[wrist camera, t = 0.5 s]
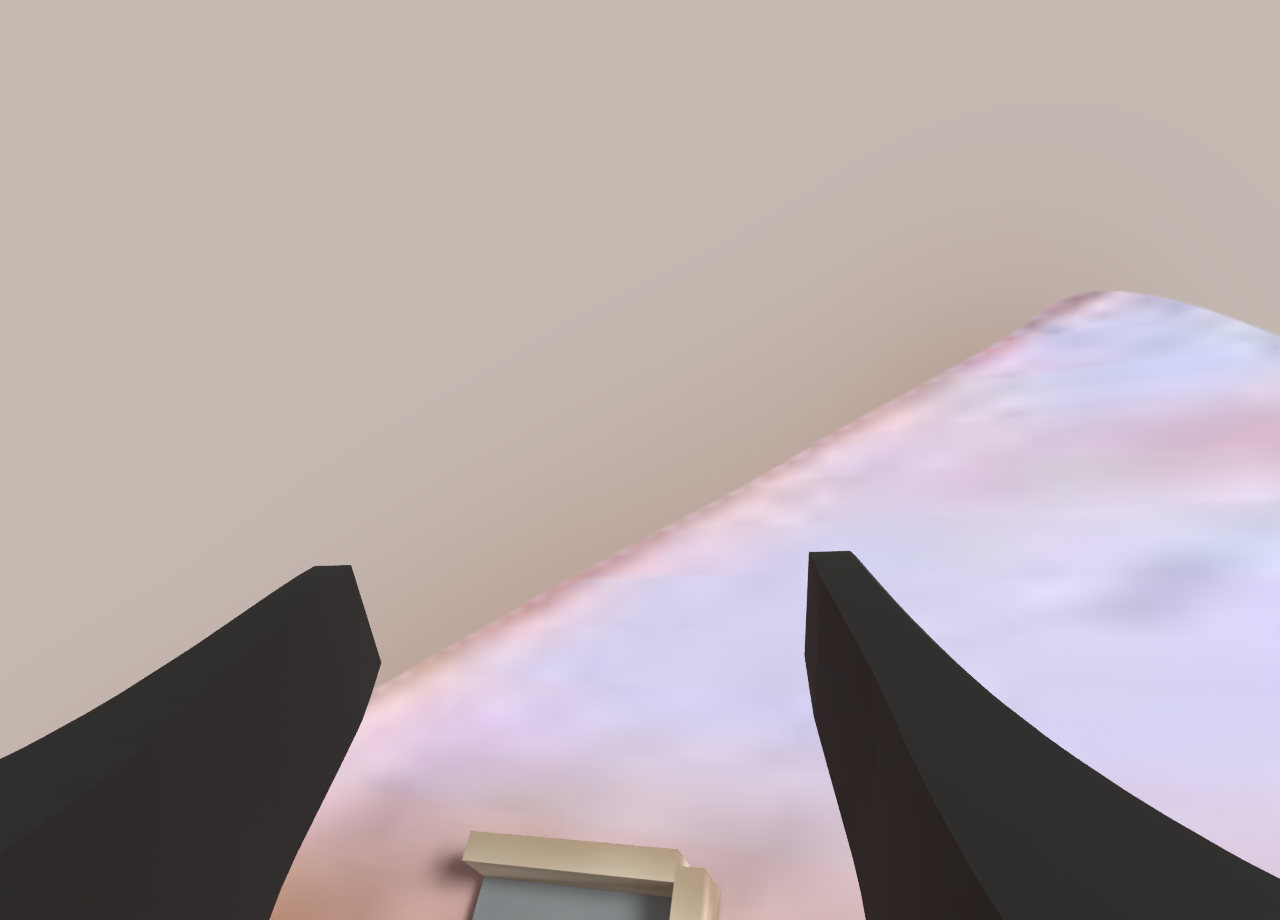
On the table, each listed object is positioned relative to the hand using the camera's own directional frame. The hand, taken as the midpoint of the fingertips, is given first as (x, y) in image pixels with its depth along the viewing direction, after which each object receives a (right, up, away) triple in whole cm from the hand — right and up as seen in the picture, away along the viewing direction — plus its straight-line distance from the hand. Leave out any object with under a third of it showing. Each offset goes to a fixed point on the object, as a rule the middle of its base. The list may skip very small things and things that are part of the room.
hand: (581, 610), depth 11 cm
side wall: (-1, -13, +16) cm, 20 cm away
